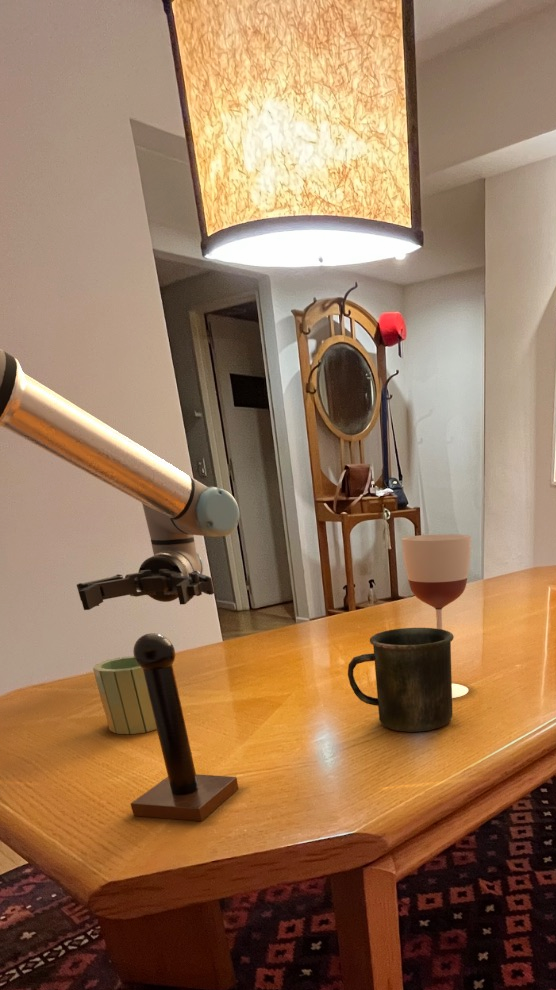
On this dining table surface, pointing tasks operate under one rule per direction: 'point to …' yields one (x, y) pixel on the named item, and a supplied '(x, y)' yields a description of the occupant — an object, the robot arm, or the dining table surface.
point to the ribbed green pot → (124, 696)
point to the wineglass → (438, 573)
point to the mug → (410, 678)
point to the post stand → (174, 744)
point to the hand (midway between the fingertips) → (132, 597)
